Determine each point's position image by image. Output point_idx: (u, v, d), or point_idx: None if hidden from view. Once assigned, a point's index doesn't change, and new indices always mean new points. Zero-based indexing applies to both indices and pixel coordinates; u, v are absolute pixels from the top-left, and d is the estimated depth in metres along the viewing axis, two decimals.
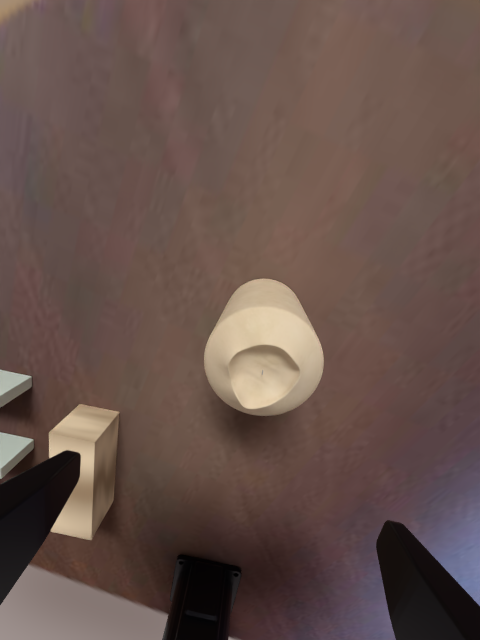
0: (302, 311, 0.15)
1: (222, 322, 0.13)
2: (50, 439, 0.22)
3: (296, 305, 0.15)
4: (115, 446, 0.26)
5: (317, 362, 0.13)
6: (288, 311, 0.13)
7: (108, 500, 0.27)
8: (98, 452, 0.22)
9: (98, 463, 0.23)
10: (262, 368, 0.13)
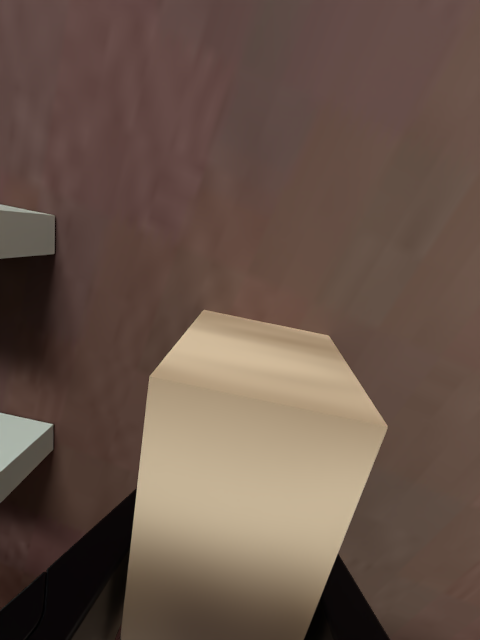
0: None
1: None
2: (153, 411, 0.04)
3: None
4: None
5: None
6: None
7: None
8: None
9: None
10: None
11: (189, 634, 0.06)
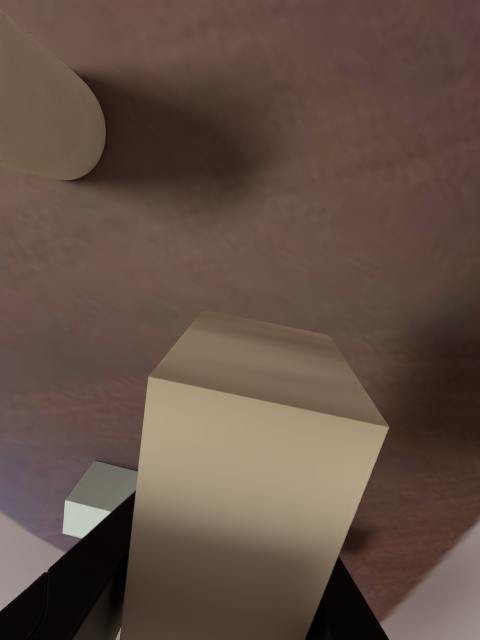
0: None
1: None
2: (152, 411, 0.04)
3: None
4: None
5: None
6: None
7: None
8: None
9: None
10: None
11: (188, 636, 0.06)
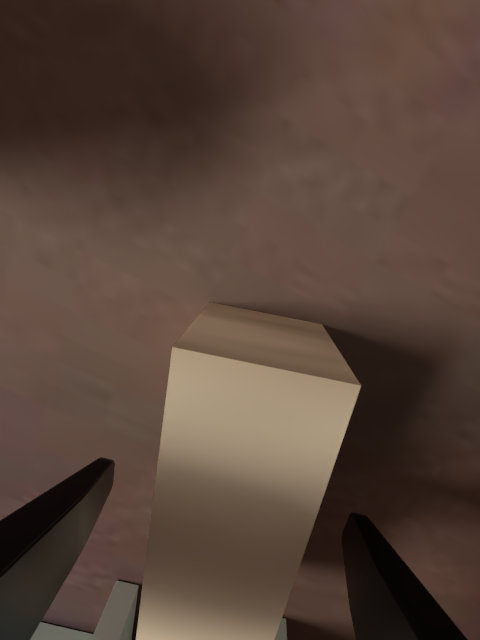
0: None
1: None
2: (174, 375, 0.06)
3: None
4: None
5: None
6: None
7: None
8: None
9: None
10: None
11: (202, 569, 0.07)
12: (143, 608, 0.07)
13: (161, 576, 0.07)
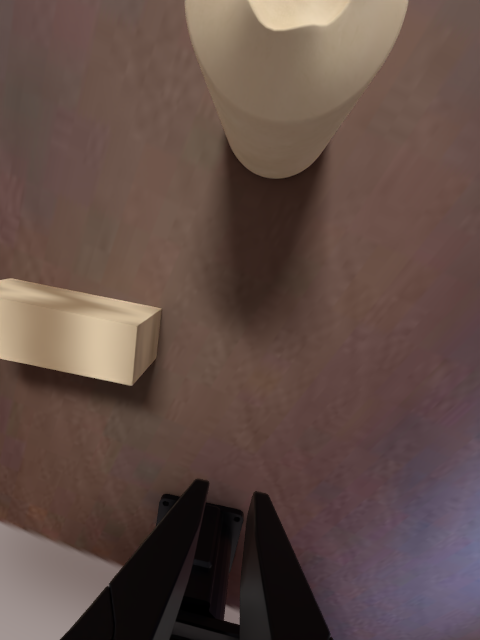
0: None
1: None
2: (126, 326, 0.15)
3: None
4: None
5: None
6: None
7: None
8: None
9: None
10: None
11: (35, 329, 0.16)
12: (1, 300, 0.15)
13: (25, 311, 0.15)
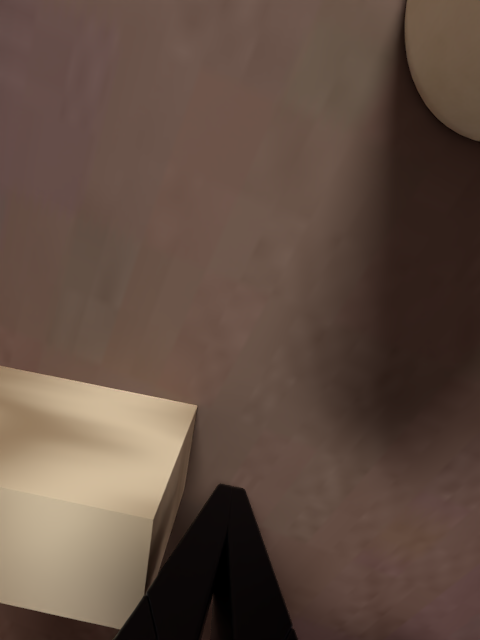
0: None
1: None
2: (124, 518, 0.06)
3: None
4: None
5: None
6: None
7: None
8: None
9: None
10: None
11: None
12: None
13: None
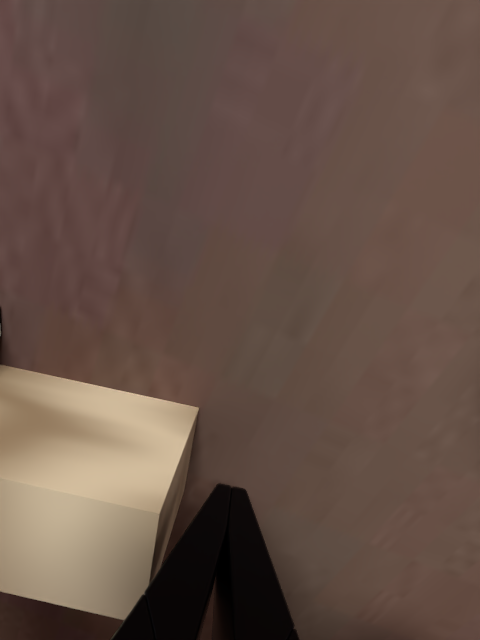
0: None
1: None
2: (131, 512, 0.06)
3: None
4: None
5: None
6: None
7: None
8: None
9: None
10: None
11: None
12: None
13: None
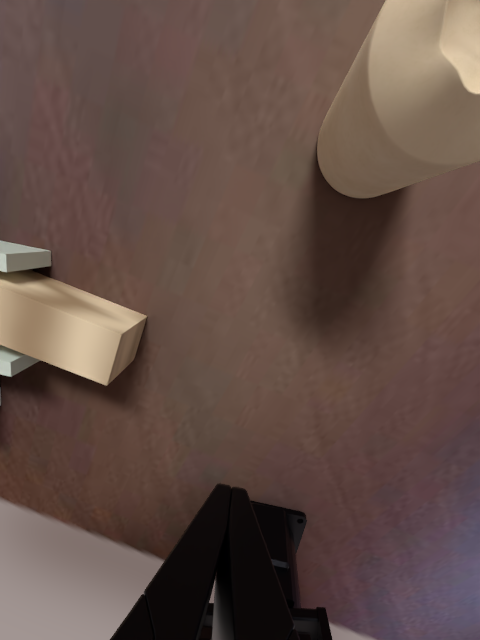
0: None
1: None
2: (111, 332, 0.16)
3: None
4: None
5: None
6: None
7: None
8: None
9: None
10: None
11: (24, 319, 0.17)
12: None
13: (18, 301, 0.16)
